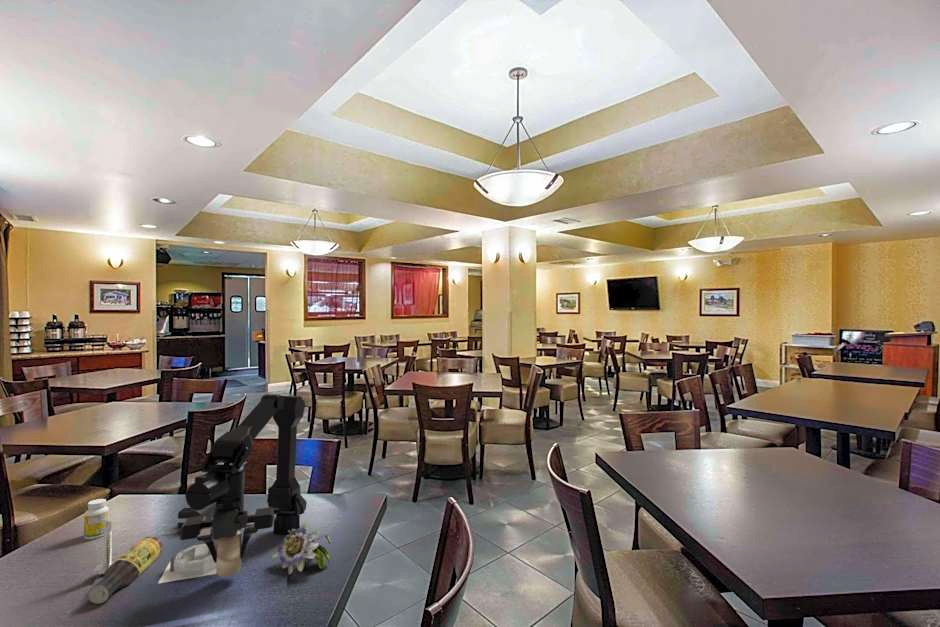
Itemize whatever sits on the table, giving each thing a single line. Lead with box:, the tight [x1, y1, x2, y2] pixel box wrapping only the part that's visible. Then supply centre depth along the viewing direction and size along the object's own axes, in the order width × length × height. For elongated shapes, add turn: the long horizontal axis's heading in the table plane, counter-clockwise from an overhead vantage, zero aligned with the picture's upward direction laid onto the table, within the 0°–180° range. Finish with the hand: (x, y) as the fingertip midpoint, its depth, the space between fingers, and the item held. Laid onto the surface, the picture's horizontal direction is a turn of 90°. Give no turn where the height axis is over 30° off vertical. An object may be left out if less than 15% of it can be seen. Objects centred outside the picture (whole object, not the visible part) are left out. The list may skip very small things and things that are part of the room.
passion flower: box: [271, 522, 332, 576], centre depth 111 cm, size 11×11×12 cm
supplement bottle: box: [83, 498, 110, 540], centre depth 126 cm, size 5×5×10 cm
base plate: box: [157, 558, 217, 585], centre depth 109 cm, size 14×11×1 cm
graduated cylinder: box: [93, 520, 116, 577], centre depth 106 cm, size 13×5×5 cm
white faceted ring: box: [169, 543, 217, 577], centre depth 109 cm, size 10×10×3 cm
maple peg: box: [215, 530, 243, 578], centre depth 103 cm, size 5×5×8 cm
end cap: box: [177, 502, 216, 534], centre depth 132 cm, size 10×7×7 cm
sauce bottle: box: [87, 536, 164, 605], centre depth 104 cm, size 7×6×20 cm
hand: (228, 559), depth 103 cm, fingers closed on maple peg, 5 cm apart
